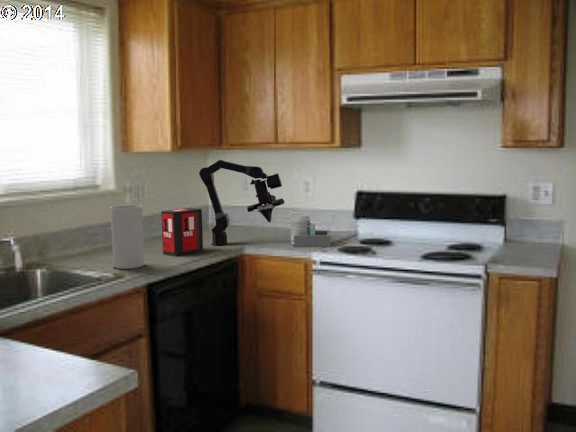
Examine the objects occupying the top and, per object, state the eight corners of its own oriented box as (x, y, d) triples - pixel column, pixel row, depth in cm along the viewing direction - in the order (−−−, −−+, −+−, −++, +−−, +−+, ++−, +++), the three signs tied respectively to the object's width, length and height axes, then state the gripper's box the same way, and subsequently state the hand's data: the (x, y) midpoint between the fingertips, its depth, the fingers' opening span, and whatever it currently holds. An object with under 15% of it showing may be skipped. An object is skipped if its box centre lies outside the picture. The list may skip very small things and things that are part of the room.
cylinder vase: (136, 262, 262) (133, 204, 259) (149, 266, 252) (147, 206, 249) (108, 266, 253) (105, 206, 251) (121, 270, 244) (118, 209, 241)
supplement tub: (311, 245, 296) (311, 215, 295) (292, 246, 295) (292, 216, 293) (308, 242, 306) (307, 213, 304) (289, 243, 305) (289, 214, 303)
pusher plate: (309, 246, 294) (309, 227, 293) (310, 241, 307) (310, 224, 306) (314, 246, 294) (314, 227, 293) (315, 241, 307) (315, 224, 306)
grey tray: (294, 247, 293) (293, 235, 292) (295, 241, 309) (295, 230, 309) (330, 246, 291) (330, 235, 291) (330, 241, 308) (330, 230, 308)
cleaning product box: (190, 249, 292) (189, 208, 290) (203, 251, 286) (201, 209, 284) (163, 254, 280) (161, 211, 277) (175, 256, 274) (173, 212, 271)
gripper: (285, 185, 302) (293, 215, 303) (254, 192, 310) (261, 221, 312) (275, 188, 292) (283, 220, 293) (243, 196, 301) (251, 226, 302)
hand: (269, 222), depth 300 cm, fingers closed
